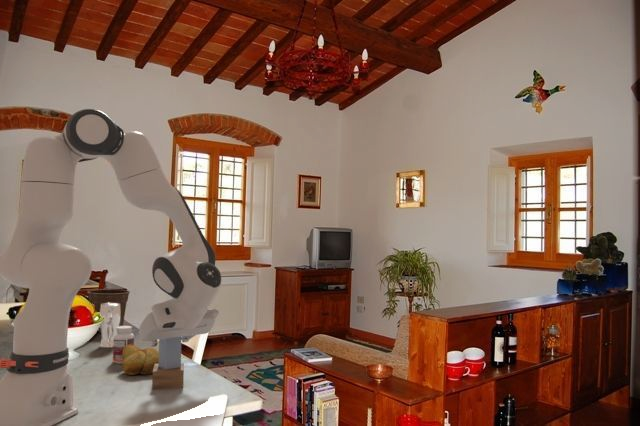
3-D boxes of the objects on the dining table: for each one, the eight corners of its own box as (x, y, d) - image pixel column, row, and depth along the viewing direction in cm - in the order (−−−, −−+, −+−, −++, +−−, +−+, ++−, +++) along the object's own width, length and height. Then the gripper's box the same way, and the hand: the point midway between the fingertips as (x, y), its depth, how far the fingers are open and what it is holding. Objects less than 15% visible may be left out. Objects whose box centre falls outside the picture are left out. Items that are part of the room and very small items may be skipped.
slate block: (180, 367, 144) (181, 334, 144) (165, 369, 141) (166, 336, 141) (173, 363, 147) (174, 331, 147) (158, 366, 144) (159, 333, 144)
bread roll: (166, 367, 161) (167, 341, 161) (166, 375, 152) (167, 348, 152) (122, 369, 157) (123, 342, 158) (119, 378, 148) (120, 350, 148)
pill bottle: (129, 358, 170) (130, 324, 170) (136, 362, 165) (137, 327, 166) (109, 360, 166) (111, 326, 167) (116, 365, 161) (117, 329, 162)
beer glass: (98, 344, 188) (99, 302, 189) (118, 343, 191) (120, 302, 192) (98, 348, 182) (100, 305, 182) (119, 347, 185) (121, 305, 185)
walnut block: (182, 388, 141) (183, 370, 141) (152, 390, 139) (152, 371, 139) (183, 380, 149) (184, 362, 149) (154, 381, 147) (154, 363, 147)
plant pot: (121, 325, 225) (122, 288, 225) (134, 331, 212) (135, 292, 213) (81, 329, 215) (82, 289, 215) (92, 336, 202) (93, 294, 203)
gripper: (217, 299, 146) (198, 329, 153) (147, 305, 133) (130, 337, 139) (224, 318, 143) (205, 347, 150) (153, 325, 129) (136, 357, 136)
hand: (168, 342), depth 144 cm, fingers open, 8 cm apart
